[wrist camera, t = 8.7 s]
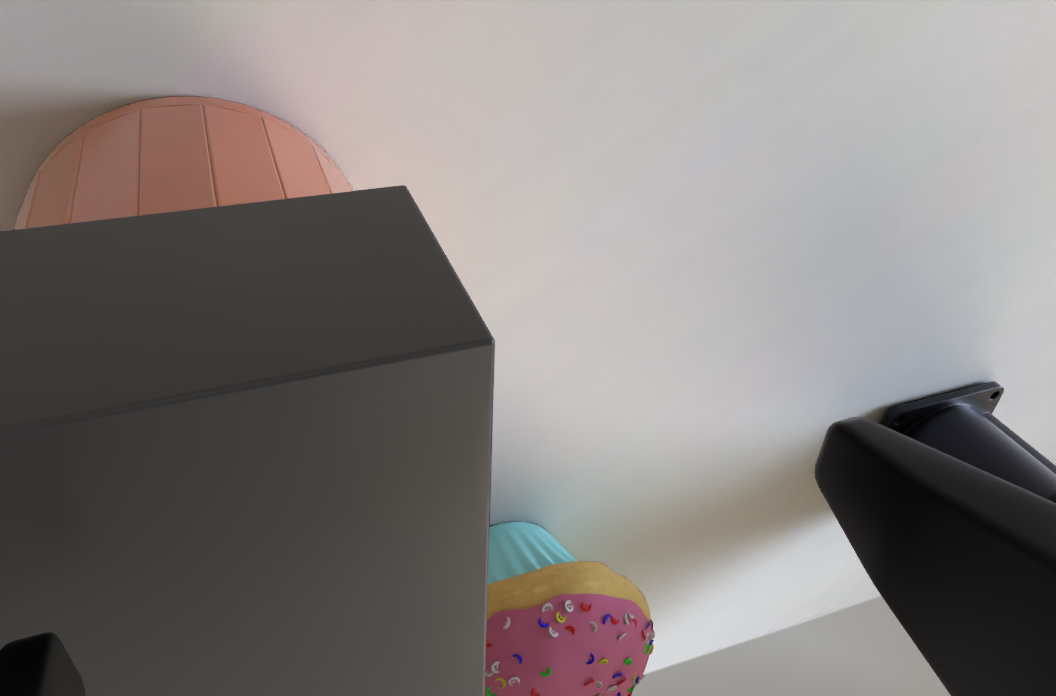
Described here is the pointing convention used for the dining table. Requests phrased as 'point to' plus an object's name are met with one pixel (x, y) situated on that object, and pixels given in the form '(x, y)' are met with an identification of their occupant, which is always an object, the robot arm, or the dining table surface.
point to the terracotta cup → (175, 163)
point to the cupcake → (559, 620)
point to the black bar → (247, 451)
